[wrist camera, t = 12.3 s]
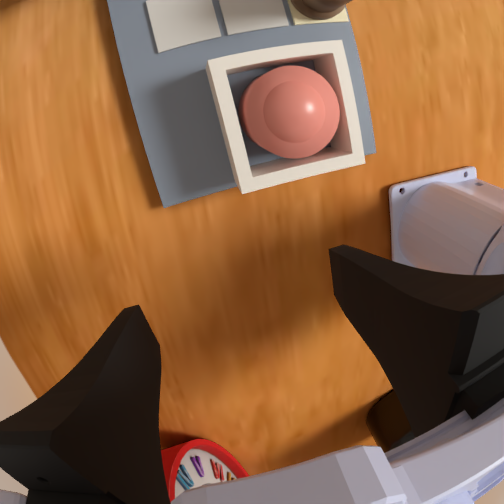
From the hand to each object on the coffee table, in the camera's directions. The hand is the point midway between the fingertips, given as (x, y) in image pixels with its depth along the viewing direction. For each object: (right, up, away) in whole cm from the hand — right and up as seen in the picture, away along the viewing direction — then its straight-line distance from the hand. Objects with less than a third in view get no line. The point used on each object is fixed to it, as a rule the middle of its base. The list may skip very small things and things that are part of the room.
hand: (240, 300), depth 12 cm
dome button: (+2, +10, +6) cm, 12 cm away
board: (0, +13, +5) cm, 14 cm away
